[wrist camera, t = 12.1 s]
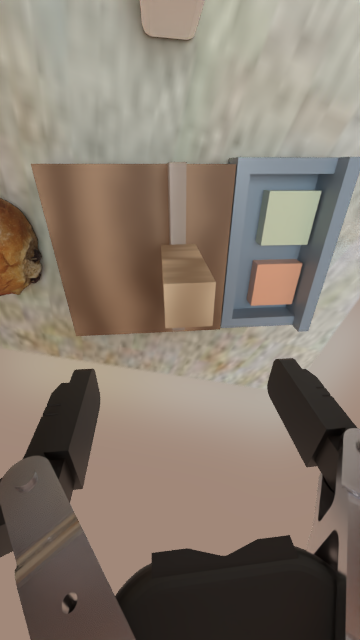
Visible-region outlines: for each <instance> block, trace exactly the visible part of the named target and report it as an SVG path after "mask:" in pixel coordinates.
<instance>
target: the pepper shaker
mask: <svg viewBox="0 0 360 640" xmlns="http://www.w3.org/2000/svg"><path fill="white" fill-rule="evenodd" d="M204 1H205V0H140V8H141V19H142V25H143V29H144V32H145V33H146V34H148V35H149V36H153V37H164V38H174V39H184V40H189V39H191V38H193V37H194V35H195V32H196V29H197V26H198V22H199V19H200V15H201V12H202V8H203V5H204Z"/></svg>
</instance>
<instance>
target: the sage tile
mask: <svg viewBox="0 0 360 640" xmlns="http://www.w3.org/2000/svg"><path fill="white" fill-rule="evenodd" d="M321 192H322V191H319V190H264V191H263V198H262V204H261V210H260V217H259V223H258V229H257V235H256V242H257V243H258V244H259V245H261V246H264V245H307V244H308V240H309V237H310V233H311V229H312V225H313V222H314V218H315V214H316V210H317V207H318V203H319V199H320V195H321Z"/></svg>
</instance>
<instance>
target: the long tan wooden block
mask: <svg viewBox="0 0 360 640" xmlns="http://www.w3.org/2000/svg"><path fill="white" fill-rule="evenodd" d="M167 165H168V208H169V245H161V258H162V281H163V297H164V313H165V328H172V329H173V331H185V327H204V326H213V313H214V300H215V288H216V281H215V280H214V278H213V276H212V274H211V272H210V270H209V268H208V266H207V265H206V263H205V261H204V259H203V257H202V255H201V253H200V252H199V250H198V248H197V246H196V244H186V166H187V162H169V163H167Z"/></svg>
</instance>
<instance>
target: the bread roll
mask: <svg viewBox="0 0 360 640" xmlns="http://www.w3.org/2000/svg"><path fill="white" fill-rule="evenodd" d="M40 259H41V254H40V252H39V251H38V242H37V238H36V235H35V234H34V232H33V230H32V226H31V225H30V224H29V222H28V221H27V219H26V218H25V216H24V215H23V213H22V212H21V211H20V210H19V209H18V208H16V207H14V206H13V205H12V204H10V203H8V202H7V201H6V200H3V199H1V198H0V296H2V295H6V294H11V293H13V294H17V295H19V294H20V293H21V292H22V290H23V289H24V288H25V287H27V286H28V285H29V284H30V283H36V282H37V281H38V280H39V279H40V276H41V274H40V272H41V270H42V269H41V266H42V265H41V263H40V264H39V262H40ZM36 261H37V262H36Z"/></svg>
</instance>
